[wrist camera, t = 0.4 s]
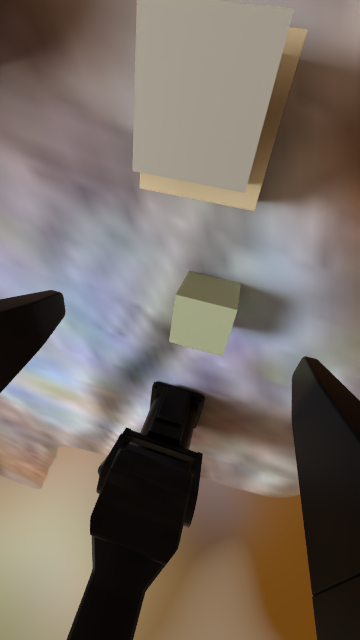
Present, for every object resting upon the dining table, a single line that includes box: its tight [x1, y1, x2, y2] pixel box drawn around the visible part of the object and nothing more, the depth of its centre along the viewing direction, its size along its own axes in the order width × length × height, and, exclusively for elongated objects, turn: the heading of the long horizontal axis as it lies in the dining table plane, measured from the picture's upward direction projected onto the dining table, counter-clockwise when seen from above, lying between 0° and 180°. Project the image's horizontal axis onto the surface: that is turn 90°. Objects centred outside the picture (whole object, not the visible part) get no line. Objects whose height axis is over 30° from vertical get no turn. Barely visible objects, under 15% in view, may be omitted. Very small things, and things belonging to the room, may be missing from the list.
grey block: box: [133, 0, 294, 193], centre depth 11 cm, size 5×5×4 cm
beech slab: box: [140, 27, 308, 211], centre depth 14 cm, size 7×7×4 cm
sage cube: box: [169, 271, 241, 356], centre depth 20 cm, size 4×4×4 cm
